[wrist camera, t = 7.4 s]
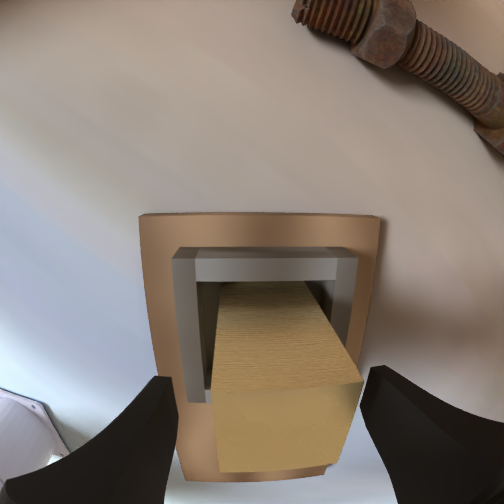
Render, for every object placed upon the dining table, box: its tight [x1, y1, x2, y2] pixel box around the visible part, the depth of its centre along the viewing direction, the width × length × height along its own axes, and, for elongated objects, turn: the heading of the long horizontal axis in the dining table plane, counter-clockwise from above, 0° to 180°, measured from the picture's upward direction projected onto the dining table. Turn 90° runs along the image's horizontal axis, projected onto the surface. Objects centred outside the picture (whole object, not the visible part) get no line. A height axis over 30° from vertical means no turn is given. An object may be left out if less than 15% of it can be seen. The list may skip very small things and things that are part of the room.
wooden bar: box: [211, 281, 364, 472], centre depth 11 cm, size 4×4×8 cm
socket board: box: [139, 212, 381, 482], centre depth 16 cm, size 12×22×3 cm, turn 179°
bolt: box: [291, 0, 504, 155], centre depth 11 cm, size 6×5×15 cm
